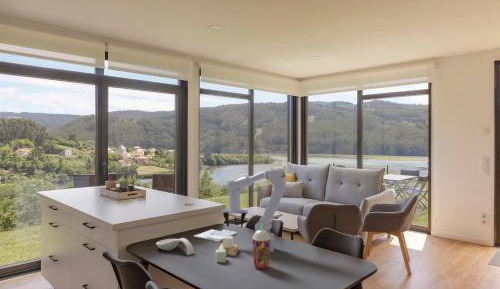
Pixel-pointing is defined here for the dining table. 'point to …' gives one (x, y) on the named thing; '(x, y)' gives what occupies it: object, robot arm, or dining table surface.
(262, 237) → the smoothie
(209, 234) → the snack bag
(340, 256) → the dining table surface
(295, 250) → the dining table surface
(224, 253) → the sage block
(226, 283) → the dining table surface
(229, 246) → the cream block
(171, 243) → the spoon rest
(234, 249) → the oak base
